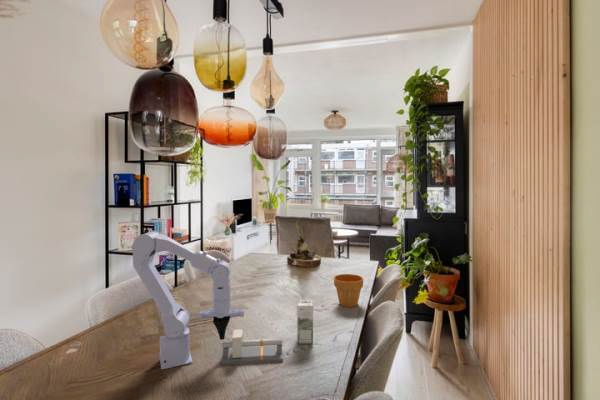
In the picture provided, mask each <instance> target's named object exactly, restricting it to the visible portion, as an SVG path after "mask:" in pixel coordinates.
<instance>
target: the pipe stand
mask: <svg viewBox="0 0 600 400" xmlns="http://www.w3.org/2000/svg"><path fill="white" fill-rule="evenodd" d="M221 347H222V358H221V361H220V365H221V366H229V365H230V366H231V365H246V364H262V363H280V362H282V363H283V362H284V358H283V357H284V356H283V338H267V339H266V338H264V339H263V338H260V339H248V340H245V339H243V341H242V347H243V352H242V357H238V358H232V340H229V341H228V340H227V341H222V343H221Z"/></svg>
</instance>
